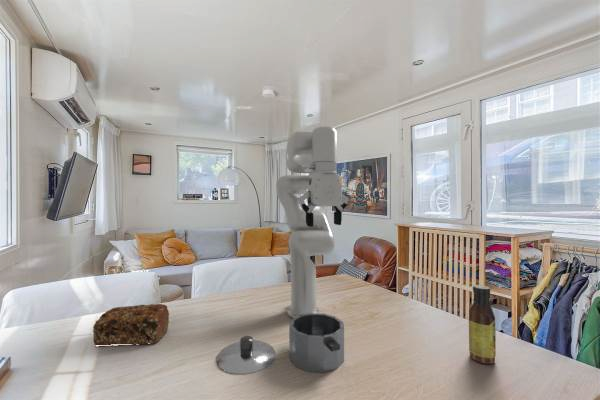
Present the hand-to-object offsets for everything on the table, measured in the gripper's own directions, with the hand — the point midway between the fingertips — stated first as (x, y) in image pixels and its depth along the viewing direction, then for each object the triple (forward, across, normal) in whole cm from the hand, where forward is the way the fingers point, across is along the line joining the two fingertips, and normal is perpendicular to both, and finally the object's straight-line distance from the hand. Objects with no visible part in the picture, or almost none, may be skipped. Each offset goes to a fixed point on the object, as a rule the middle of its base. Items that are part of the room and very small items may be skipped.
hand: (324, 225), depth 87 cm
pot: (+36, -6, -6) cm, 37 cm away
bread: (+37, -53, +28) cm, 70 cm away
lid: (+36, -23, +3) cm, 43 cm away
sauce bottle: (+36, +35, -26) cm, 57 cm away
